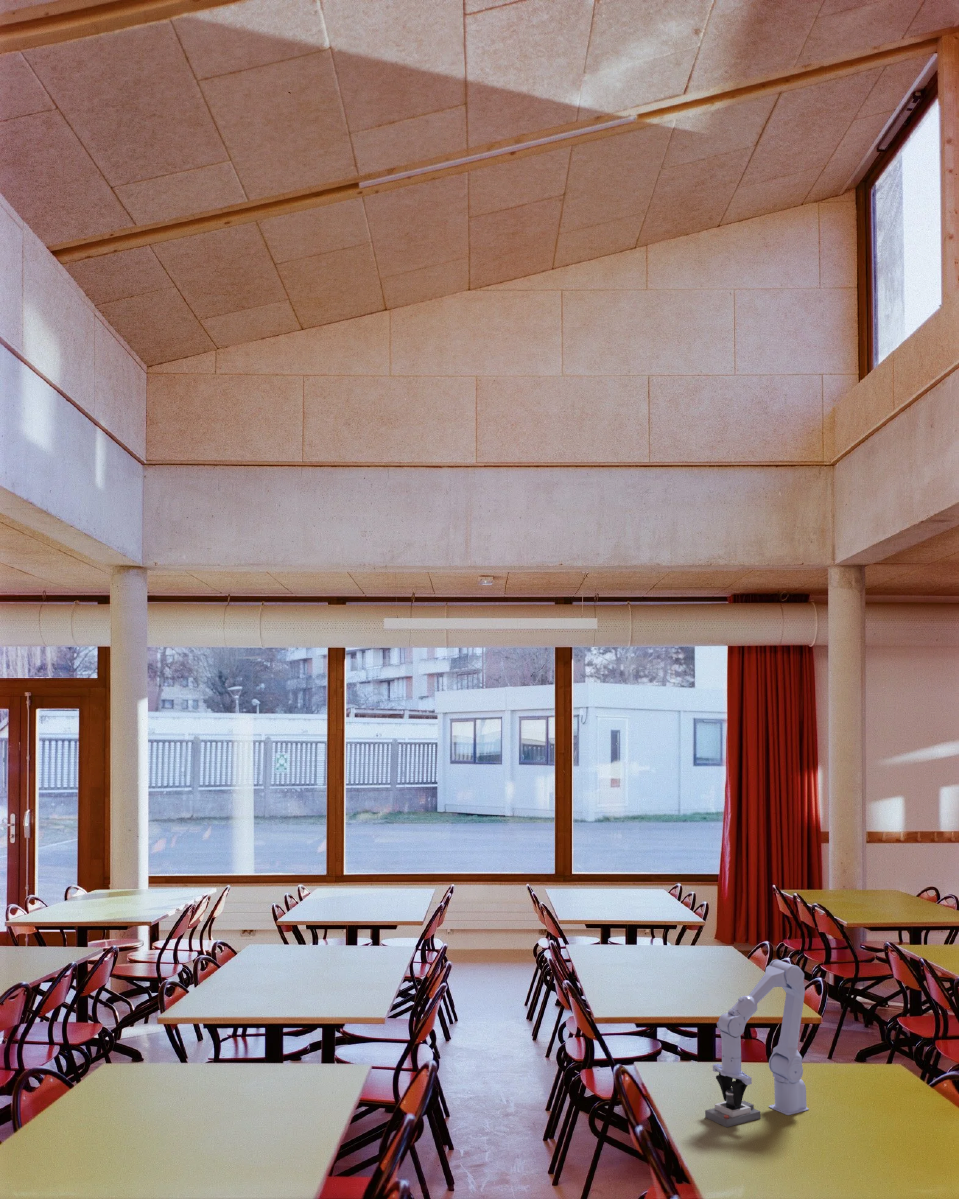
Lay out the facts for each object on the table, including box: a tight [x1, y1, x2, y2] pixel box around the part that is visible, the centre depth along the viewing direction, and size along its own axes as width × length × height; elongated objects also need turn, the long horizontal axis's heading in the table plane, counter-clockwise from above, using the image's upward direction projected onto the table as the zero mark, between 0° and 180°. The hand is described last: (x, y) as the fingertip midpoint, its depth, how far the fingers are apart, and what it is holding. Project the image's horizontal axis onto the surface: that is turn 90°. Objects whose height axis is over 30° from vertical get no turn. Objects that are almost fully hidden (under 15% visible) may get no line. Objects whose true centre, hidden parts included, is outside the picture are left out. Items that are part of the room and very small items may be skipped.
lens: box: [726, 1087, 740, 1110], centre depth 308 cm, size 4×4×6 cm
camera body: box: [704, 1100, 761, 1128], centre depth 308 cm, size 14×9×4 cm, turn 120°
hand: (732, 1102), depth 308 cm, fingers closed on lens, 4 cm apart
